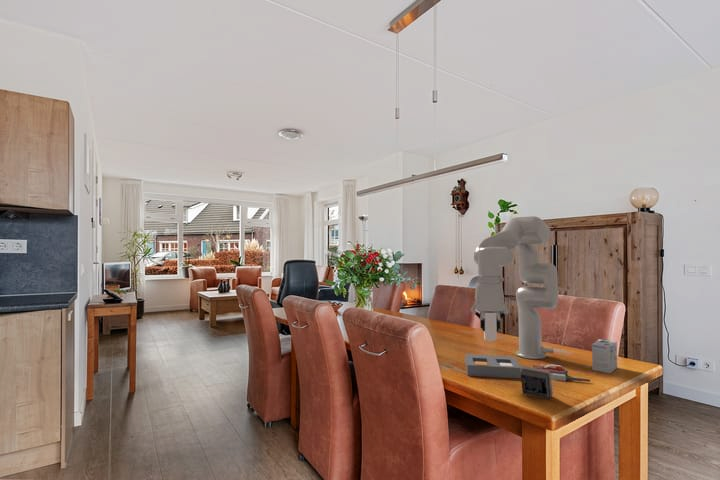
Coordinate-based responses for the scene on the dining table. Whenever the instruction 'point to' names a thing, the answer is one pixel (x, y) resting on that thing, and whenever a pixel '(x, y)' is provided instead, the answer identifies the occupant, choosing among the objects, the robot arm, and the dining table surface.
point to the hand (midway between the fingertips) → (490, 330)
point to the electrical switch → (536, 382)
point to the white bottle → (490, 326)
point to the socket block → (492, 366)
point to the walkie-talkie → (558, 373)
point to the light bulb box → (604, 355)
